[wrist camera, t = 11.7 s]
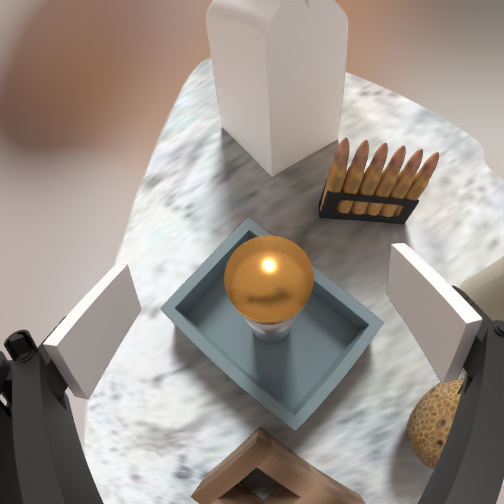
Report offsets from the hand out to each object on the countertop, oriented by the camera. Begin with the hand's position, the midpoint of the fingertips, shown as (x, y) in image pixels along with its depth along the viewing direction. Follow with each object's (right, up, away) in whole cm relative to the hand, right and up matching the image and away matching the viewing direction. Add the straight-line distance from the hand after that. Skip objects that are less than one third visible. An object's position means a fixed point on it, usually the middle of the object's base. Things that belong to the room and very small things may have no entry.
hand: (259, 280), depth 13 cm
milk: (+3, +18, +24) cm, 30 cm away
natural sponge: (+18, -16, +9) cm, 26 cm away
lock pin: (+1, -6, +13) cm, 15 cm away
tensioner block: (+3, -23, +7) cm, 24 cm away
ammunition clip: (+13, +6, +18) cm, 23 cm away
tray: (+2, -6, +14) cm, 15 cm away
